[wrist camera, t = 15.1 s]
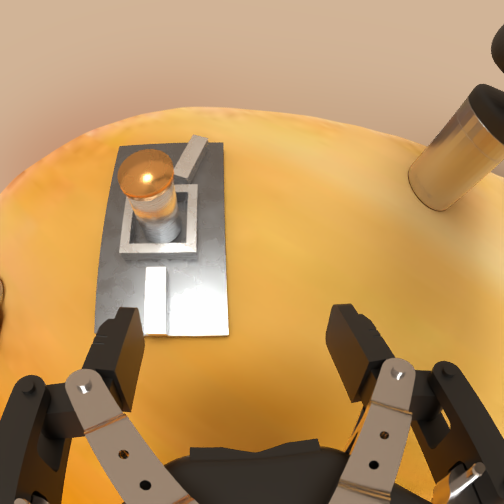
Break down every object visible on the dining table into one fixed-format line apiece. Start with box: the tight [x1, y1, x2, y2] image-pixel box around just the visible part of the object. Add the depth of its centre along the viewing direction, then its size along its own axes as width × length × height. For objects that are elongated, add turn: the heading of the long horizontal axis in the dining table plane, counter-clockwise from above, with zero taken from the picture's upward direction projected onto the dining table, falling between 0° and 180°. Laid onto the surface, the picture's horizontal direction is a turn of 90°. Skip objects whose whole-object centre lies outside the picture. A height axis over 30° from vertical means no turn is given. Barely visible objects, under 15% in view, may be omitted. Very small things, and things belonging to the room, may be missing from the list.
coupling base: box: [95, 135, 229, 337], centre depth 32 cm, size 24×14×4 cm, turn 3°
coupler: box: [117, 149, 182, 243], centre depth 28 cm, size 5×5×10 cm
